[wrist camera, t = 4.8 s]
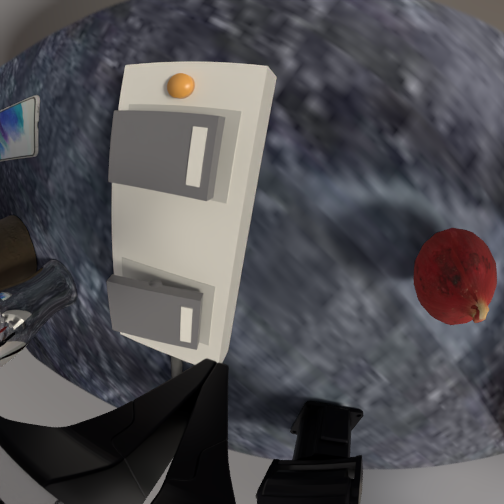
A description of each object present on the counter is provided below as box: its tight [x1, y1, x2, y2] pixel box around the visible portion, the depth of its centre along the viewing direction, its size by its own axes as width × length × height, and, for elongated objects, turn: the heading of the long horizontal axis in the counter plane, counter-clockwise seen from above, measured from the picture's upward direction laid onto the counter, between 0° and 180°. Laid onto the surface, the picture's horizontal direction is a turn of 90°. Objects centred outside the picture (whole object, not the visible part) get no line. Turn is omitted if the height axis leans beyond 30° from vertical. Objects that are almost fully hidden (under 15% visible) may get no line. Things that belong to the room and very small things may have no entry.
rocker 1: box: [108, 110, 225, 201], centre depth 15 cm, size 5×7×2 cm, turn 81°
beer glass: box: [0, 260, 77, 368], centre depth 22 cm, size 7×7×15 cm
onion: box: [414, 228, 497, 325], centre depth 14 cm, size 6×6×8 cm
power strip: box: [112, 62, 277, 378], centre depth 21 cm, size 30×10×4 cm, turn 171°
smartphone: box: [0, 95, 40, 161], centre depth 23 cm, size 7×1×15 cm
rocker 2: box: [107, 274, 203, 350], centre depth 20 cm, size 5×7×2 cm, turn 81°
